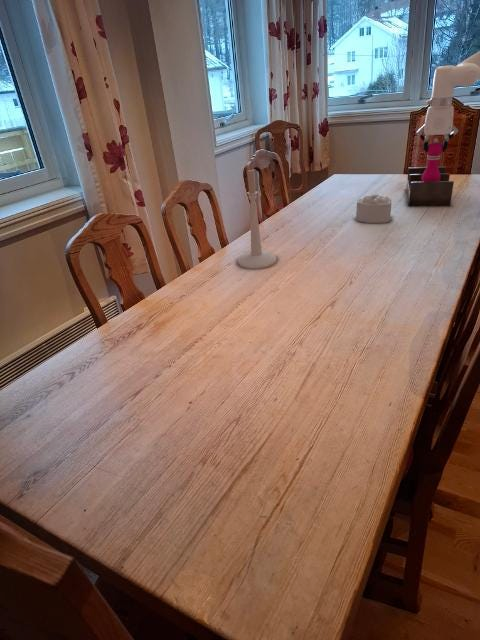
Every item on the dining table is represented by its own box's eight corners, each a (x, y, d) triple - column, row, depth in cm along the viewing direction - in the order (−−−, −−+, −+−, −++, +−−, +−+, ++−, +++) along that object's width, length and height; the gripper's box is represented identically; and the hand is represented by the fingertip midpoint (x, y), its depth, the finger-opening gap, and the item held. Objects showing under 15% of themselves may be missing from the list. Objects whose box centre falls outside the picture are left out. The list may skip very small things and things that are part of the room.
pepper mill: (418, 190, 182) (424, 139, 172) (422, 186, 187) (429, 136, 177) (436, 191, 178) (443, 139, 168) (440, 187, 183) (448, 136, 173)
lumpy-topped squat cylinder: (389, 223, 165) (391, 200, 161) (355, 222, 169) (356, 200, 165) (389, 214, 174) (391, 193, 170) (356, 214, 178) (357, 193, 173)
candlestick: (271, 251, 151) (266, 162, 135) (280, 265, 140) (276, 170, 124) (235, 256, 149) (226, 167, 134) (241, 271, 138) (233, 175, 123)
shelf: (442, 188, 200) (446, 166, 195) (449, 206, 177) (453, 181, 172) (406, 189, 204) (408, 167, 199) (408, 206, 181) (411, 182, 176)
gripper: (417, 105, 165) (412, 154, 174) (467, 101, 160) (458, 152, 169) (416, 103, 171) (411, 151, 180) (464, 100, 166) (456, 149, 175)
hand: (434, 151), depth 175 cm, fingers closed on pepper mill, 6 cm apart
